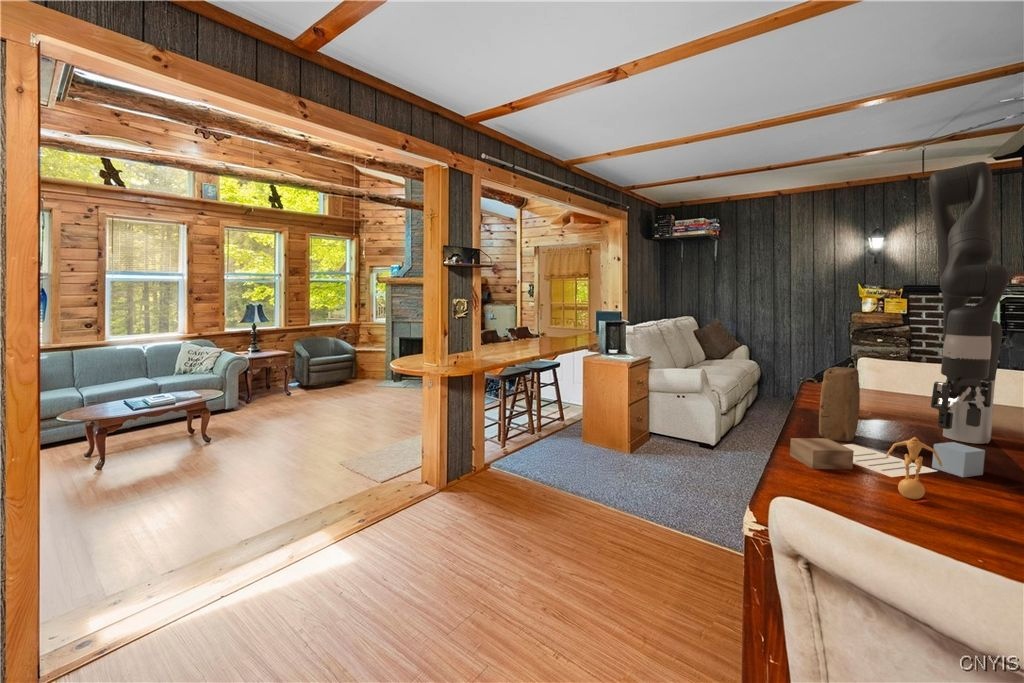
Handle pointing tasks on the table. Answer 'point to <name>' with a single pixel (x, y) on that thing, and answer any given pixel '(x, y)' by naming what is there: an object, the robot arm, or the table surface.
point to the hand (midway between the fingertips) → (958, 427)
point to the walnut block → (821, 453)
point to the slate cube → (959, 459)
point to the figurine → (913, 486)
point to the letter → (882, 462)
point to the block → (839, 404)
